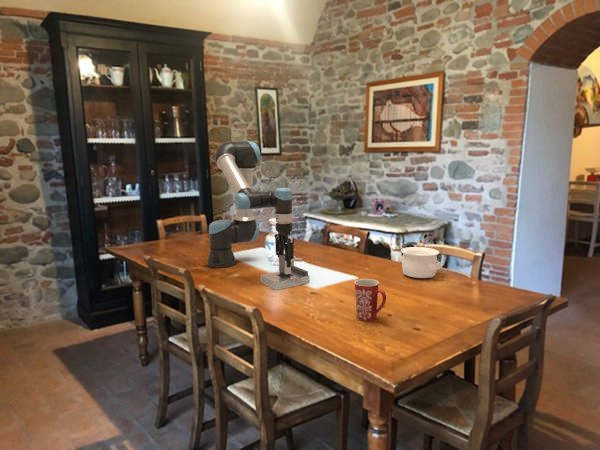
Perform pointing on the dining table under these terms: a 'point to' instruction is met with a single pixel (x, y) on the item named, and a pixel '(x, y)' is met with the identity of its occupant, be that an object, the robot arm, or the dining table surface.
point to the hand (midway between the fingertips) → (284, 272)
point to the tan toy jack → (295, 260)
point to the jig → (286, 279)
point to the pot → (419, 262)
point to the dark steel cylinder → (282, 265)
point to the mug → (367, 299)
